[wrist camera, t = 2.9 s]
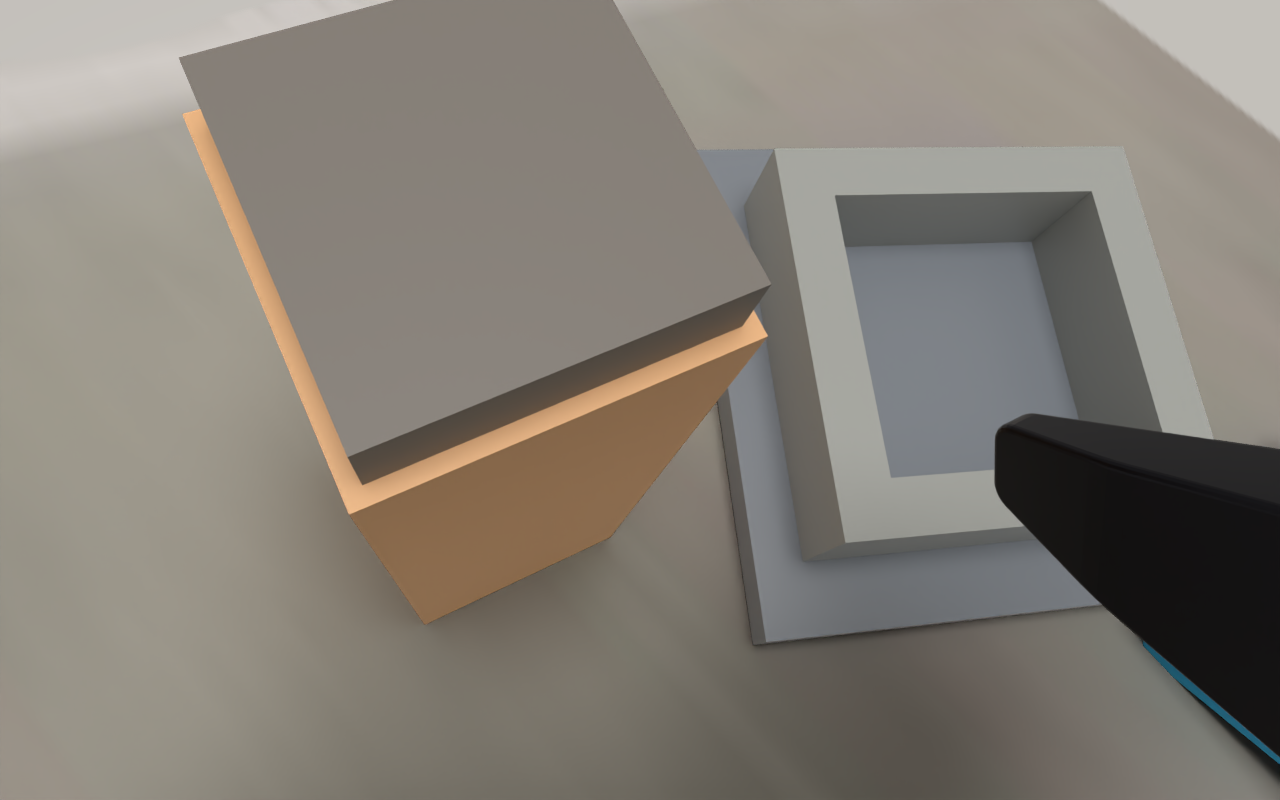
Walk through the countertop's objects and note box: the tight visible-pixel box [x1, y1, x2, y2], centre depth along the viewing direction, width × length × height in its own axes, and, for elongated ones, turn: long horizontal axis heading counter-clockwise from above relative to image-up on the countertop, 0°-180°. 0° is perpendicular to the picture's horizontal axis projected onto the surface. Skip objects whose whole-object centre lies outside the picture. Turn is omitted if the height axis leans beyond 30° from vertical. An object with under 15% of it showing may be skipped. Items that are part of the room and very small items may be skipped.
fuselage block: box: [179, 0, 771, 624], centre depth 14 cm, size 4×4×13 cm
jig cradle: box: [697, 146, 1214, 645], centre depth 22 cm, size 12×11×4 cm
